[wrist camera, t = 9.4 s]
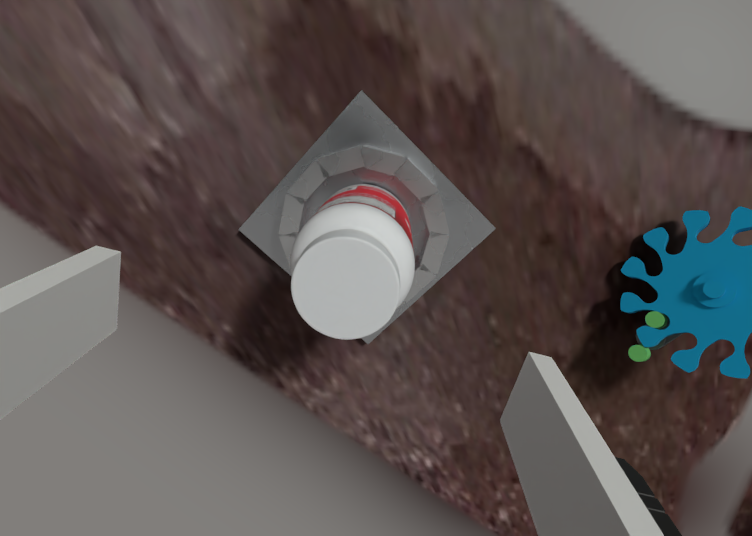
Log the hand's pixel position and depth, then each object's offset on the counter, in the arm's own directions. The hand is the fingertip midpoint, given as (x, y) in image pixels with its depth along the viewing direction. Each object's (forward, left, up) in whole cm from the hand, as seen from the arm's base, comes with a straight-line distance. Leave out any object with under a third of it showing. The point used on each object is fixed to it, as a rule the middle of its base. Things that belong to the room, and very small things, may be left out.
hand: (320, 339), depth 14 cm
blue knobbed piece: (+17, +12, -17) cm, 27 cm away
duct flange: (0, 0, -16) cm, 16 cm away
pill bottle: (0, 0, -16) cm, 16 cm away
